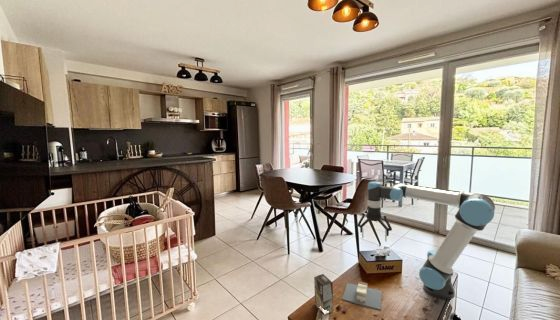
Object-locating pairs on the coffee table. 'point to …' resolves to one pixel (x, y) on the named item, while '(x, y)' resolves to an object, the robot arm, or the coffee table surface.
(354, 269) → the coffee table surface
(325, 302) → the coffee box
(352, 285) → the mat
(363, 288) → the cream block
